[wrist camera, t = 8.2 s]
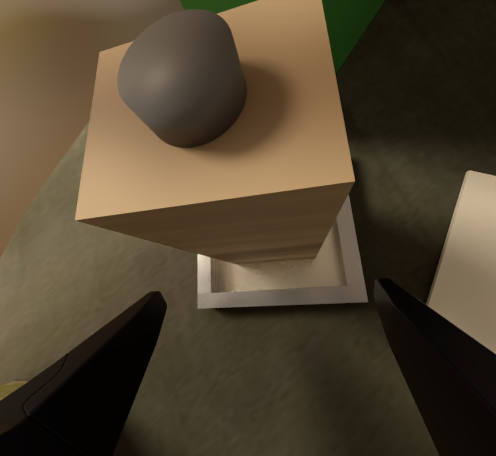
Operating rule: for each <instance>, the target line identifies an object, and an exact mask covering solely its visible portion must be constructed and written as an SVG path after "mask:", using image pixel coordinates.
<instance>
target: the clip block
mask: <svg viewBox="0 0 496 456" xmlns="http://www.w3.org/2000/svg"><path fill="white" fill-rule="evenodd" d="M354 182H355V178H354V173H353V167H352V162H351V156H350V151H349V146H348V140H347V135H346V129H345V124H344V118H343V113H342V108H341V102H340V97H339V91H338V86H337V81H336V75H335V70H334V64H333V59H332V54H331V48H330V43H329V37H328V32H327V26H326V21H325V16H324V10H323V5H322V0H258V1H254V2H251V3H248V4H245V5H242V6H239V7H236V8H233V9H230V10H227V11H224V12H221V13H218V14H215V13H213V12H211V11H207V10H202V9H190V10H184V11H180V12H176V13H173V14H171V15H168V16H166V17H164V18H162V19H160V20H158V21H157V22H155V23H153V24H152V25H151V26H149V27H148V28H147V29H145V30H144V31H143V32H142V33H141V34H140V35H139V36H138V37H137V38H136V39H135V40H134V41H133V42H129V43H127V44H124V45H120V46H117V47H114V48H111V49H108V50H105V51H102V52H100V54H99V61H98V67H97V74H96V81H95V88H94V94H93V102H92V108H91V115H90V122H89V128H88V135H87V142H86V149H85V155H84V162H83V169H82V176H81V183H80V189H79V196H78V203H77V210H76V216H75V220H76V221H79V222H83V223H87V224H90V225H94V226H98V227H101V228H105V229H109V230H112V231H116V232H120V233H123V234H127V235H131V236H134V237H138V238H142V239H145V240H149V241H153V242H156V243H160V244H163V245H167V246H171V247H174V248H178V249H182V250H185V251H189V252H193V253H196V254H200V255H204V256H207V257H211V258H215V259H218V260H222V261H226V262H229V263H233V264H246V263H259V262H273V261H286V260H300V259H313V258H316V256H317V254H318V252H319V251H320V249H321V247H322V245H323V243H324V241H325V239H326V237H327V235H328V233H329V231H330V229H331V227H332V225H333V223H334V221H335V219H336V217H337V215H338V214H339V212H340V210H341V208H342V206H343V204H344V202H345V200H346V198H347V196H348V194H349V192H350V190H351V188H352V186H353V184H354Z"/></svg>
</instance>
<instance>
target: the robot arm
mask: <svg viewBox="0 0 496 456" xmlns="http://www.w3.org/2000/svg"><path fill="white" fill-rule="evenodd" d="M374 300H375V303H376V306H377V309H378V312H379V316H380V319H381V322H382V325H383V328H384V331H385V334H386V337H387V340H388V342H389V345H390V347H391V349H392V352H393V354H394V356H395V358H396V360H397V363H398V365H399V367H400V369H401V372H402V374H403V376H404V378H405V380H406V383H407V385H408V387H409V389H410V391H411V394H412V396H413V398H414V400H415V403H416V405H417V407H418V409H419V411H420V414H421V416H422V418H423V420H424V423H425V425H426V427H427V429H428V431H429V434H430V436H431V438H432V440H433V442H434V445H435V447H436V449H437V451H438V454H439V456H496V354H495V353H494V352H492V351H491V350H489V349H488V348H487V347H485V346H484V345H482V344H481V343H479V342H478V341H477V340H475V339H474V338H472V337H471V336H470V335H468V334H467V333H465V332H464V331H463V330H461V329H460V328H458V327H457V326H455V325H454V324H453V323H451V322H450V321H448V320H447V319H446V318H444V317H443V316H441V315H440V314H439V313H437V312H436V311H434V310H433V309H431V308H430V307H429V306H427V305H426V304H424V303H423V302H422V301H420V300H419V299H417V298H416V297H415V296H413V295H412V294H410V293H409V292H407V291H406V290H405V289H403V288H402V287H400V286H399V285H398V284H396V283H395V282H393V281H392V280H391V279H389V278H377V279H376V280H375V286H374ZM166 309H167V304H166V302H165V300H164V298H163V296H162V294H161V293H160V292H159V291H152V292H149V293H148V294H146V295H145V296H144V297H142V298H141V299H140V300H138V301H137V302H136V303H134V304H133V305H132V306H130V307H129V308H128V309H126V310H125V311H124V312H122V313H121V314H120V315H118V316H117V317H116V318H114V319H113V320H112V321H110V322H109V323H108V324H106V325H105V326H103V327H102V328H101V329H99V330H98V331H97V332H95V333H94V334H93V335H91V336H90V337H89V338H87V339H86V340H85V341H83V342H82V343H81V344H79V345H78V346H77V347H75V348H74V349H73V350H71V351H70V352H69V353H67V354H66V355H64V356H63V357H62V358H60V359H59V360H58V361H56V362H55V363H54V364H52V365H51V366H49V367H48V368H47V369H45V370H44V371H43V372H41V373H40V374H38V375H37V376H35V377H34V378H33V379H31V380H30V381H28V382H27V383H25V384H24V385H22V386H21V387H19V388H18V389H16V390H15V391H14V392H12V393H11V394H9V395H8V396H6V397H5V398H3V399H2V400H0V456H112V455H113V453H114V450H115V448H116V445H117V443H118V440H119V438H120V435H121V432H122V430H123V427H124V425H125V422H126V420H127V417H128V415H129V412H130V410H131V407H132V404H133V402H134V399H135V397H136V394H137V392H138V389H139V387H140V384H141V382H142V379H143V376H144V374H145V371H146V369H147V366H148V364H149V361H150V359H151V356H152V354H153V351H154V348H155V346H156V343H157V340H158V337H159V334H160V330H161V327H162V323H163V320H164V316H165V313H166Z"/></svg>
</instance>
